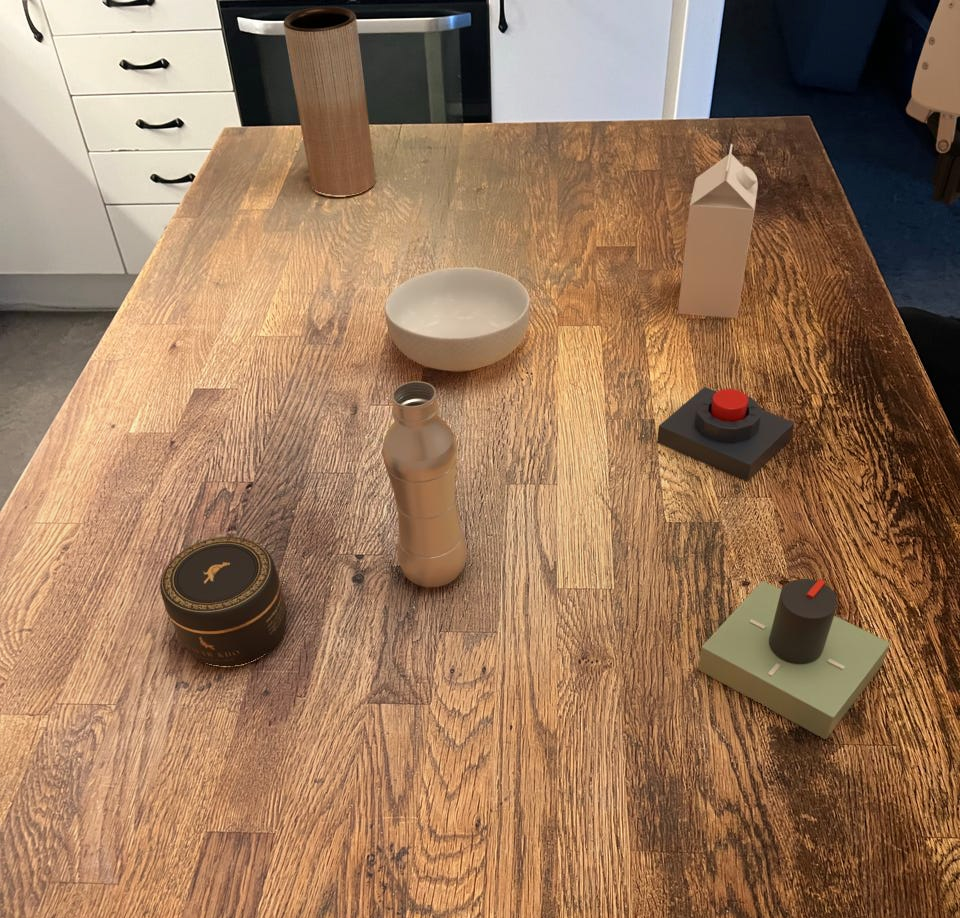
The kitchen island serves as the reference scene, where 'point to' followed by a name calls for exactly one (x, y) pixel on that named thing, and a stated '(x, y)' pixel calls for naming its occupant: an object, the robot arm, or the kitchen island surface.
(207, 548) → the jar
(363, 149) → the planter
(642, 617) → the kitchen island surface
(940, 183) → the robot arm
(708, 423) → the button block
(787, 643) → the knob
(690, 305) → the milk carton
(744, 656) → the panel
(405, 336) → the cereal bowl
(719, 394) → the button
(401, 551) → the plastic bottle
